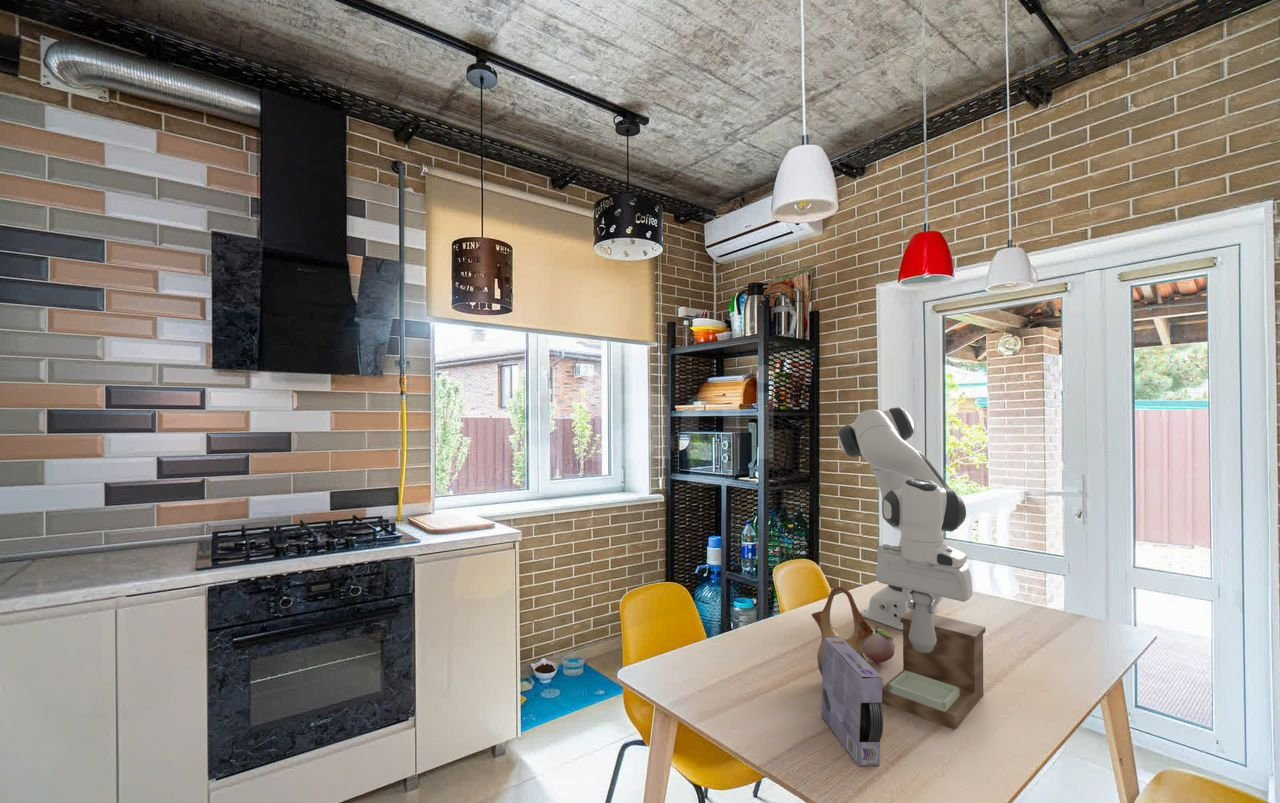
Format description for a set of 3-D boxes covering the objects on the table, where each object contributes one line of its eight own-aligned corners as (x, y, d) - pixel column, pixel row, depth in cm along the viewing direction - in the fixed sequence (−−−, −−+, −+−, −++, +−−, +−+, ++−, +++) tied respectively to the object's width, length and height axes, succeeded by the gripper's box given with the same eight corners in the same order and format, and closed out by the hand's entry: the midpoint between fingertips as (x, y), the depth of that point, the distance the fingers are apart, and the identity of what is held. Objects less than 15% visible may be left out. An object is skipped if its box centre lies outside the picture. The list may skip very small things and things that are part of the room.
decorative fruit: (900, 663, 152) (900, 625, 152) (889, 673, 146) (889, 634, 146) (865, 652, 158) (865, 617, 158) (854, 662, 152) (854, 625, 152)
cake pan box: (885, 770, 107) (885, 676, 107) (860, 771, 106) (859, 677, 107) (841, 715, 126) (841, 635, 126) (819, 716, 126) (819, 636, 126)
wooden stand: (878, 701, 132) (878, 631, 132) (912, 671, 147) (912, 609, 147) (957, 730, 120) (957, 654, 120) (985, 694, 135) (985, 627, 135)
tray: (888, 692, 130) (888, 684, 130) (905, 677, 137) (905, 670, 137) (945, 712, 122) (945, 703, 122) (959, 695, 129) (959, 687, 129)
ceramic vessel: (801, 682, 141) (801, 582, 141) (822, 672, 147) (822, 575, 147) (863, 709, 128) (863, 599, 129) (883, 697, 134) (882, 591, 134)
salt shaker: (940, 655, 127) (940, 597, 127) (913, 653, 127) (914, 596, 127) (930, 644, 132) (930, 589, 132) (904, 642, 133) (905, 587, 133)
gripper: (871, 544, 135) (871, 602, 135) (965, 561, 121) (965, 626, 121) (882, 540, 140) (882, 596, 140) (974, 556, 125) (974, 619, 125)
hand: (921, 610), depth 130 cm, fingers closed on salt shaker, 3 cm apart
